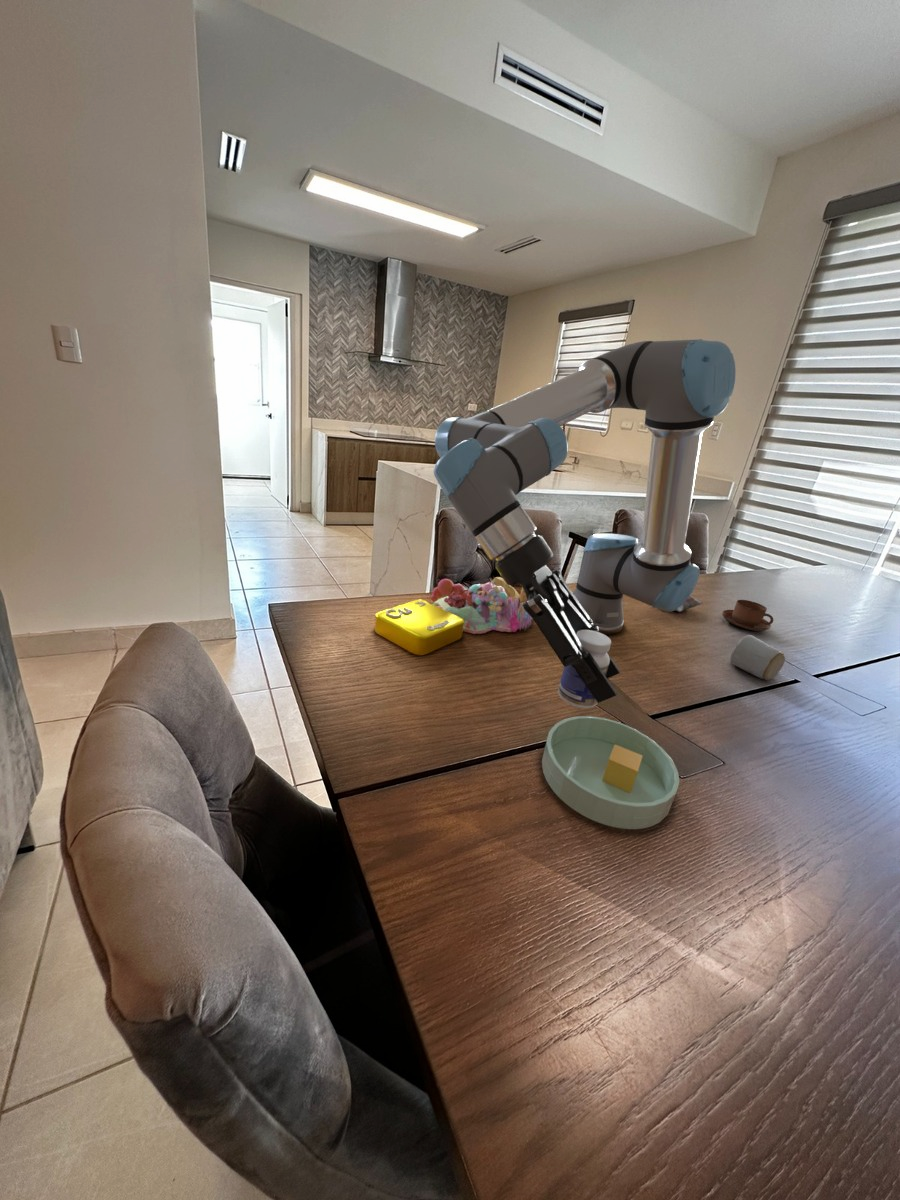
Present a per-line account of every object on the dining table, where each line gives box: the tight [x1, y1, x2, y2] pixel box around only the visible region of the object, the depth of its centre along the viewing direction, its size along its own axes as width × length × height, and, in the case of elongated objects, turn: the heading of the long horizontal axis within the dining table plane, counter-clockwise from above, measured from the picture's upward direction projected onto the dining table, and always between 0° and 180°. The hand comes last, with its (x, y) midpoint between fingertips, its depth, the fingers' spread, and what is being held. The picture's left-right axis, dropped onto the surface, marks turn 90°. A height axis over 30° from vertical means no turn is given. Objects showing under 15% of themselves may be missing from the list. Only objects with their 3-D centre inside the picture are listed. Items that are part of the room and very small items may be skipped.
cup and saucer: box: [722, 599, 774, 632], centre depth 131 cm, size 12×12×6 cm
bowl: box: [541, 715, 680, 830], centre depth 68 cm, size 18×18×4 cm
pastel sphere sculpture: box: [430, 576, 534, 635], centre depth 117 cm, size 25×24×9 cm
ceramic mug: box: [730, 634, 786, 681], centre depth 105 cm, size 11×8×8 cm
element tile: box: [374, 599, 464, 656], centre depth 104 cm, size 15×15×5 cm
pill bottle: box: [557, 630, 612, 709], centre depth 66 cm, size 6×6×10 cm
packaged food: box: [674, 594, 703, 613], centre depth 138 cm, size 9×12×5 cm
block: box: [602, 744, 643, 793], centre depth 68 cm, size 4×4×4 cm
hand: (609, 686), depth 65 cm, fingers closed on pill bottle, 6 cm apart
